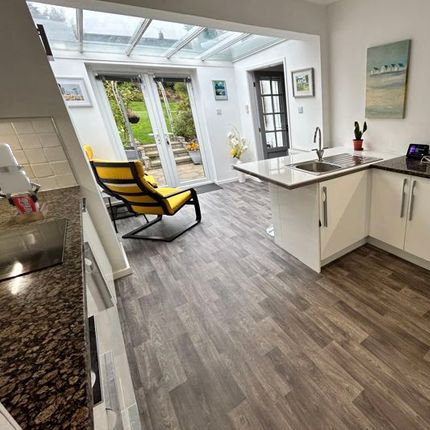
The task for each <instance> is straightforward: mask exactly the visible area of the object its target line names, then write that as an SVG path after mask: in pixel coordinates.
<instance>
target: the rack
mask: <svg viewBox="0 0 430 430" xmlns="http://www.w3.org/2000/svg"><path fill="white" fill-rule="evenodd" d="M38 204H39V206H40V207H38V209H39V211H38V212H33V213H27V214H22V215H20V214H19V212H18V210H16V212H15V214H14V215H13V218H14V220H15V221H16V223H17V224H18V225H19V224H24V223H28V222H29V223H30V222H35V221H39V220H44V219H46V217H47V214H48V212H49V211H48V210H49V208H48V206H47V204H46V202H41V203H38Z"/></svg>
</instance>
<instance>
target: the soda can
mask: <svg viewBox="0 0 430 430" xmlns="http://www.w3.org/2000/svg"><path fill="white" fill-rule="evenodd" d="M12 198H13V202H14V204H15V206H14V207H15V208H16V211H18V212H19V214H20V215H22V214H27V213H33V212H38V211H39V209H38V207H37V204H36V203H35V202H34V200H33V198H32V194H31V193H29V192H22V193H18V194H14V195H12Z"/></svg>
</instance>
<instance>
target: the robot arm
mask: <svg viewBox="0 0 430 430" xmlns="http://www.w3.org/2000/svg"><path fill="white" fill-rule="evenodd" d="M22 169H25V166H24V165H21V164H19V163H18V161H17V159H16V157H15V155H14V153H13V151H12V149H11V147H10V145H9V144H8V143H6V142H0V197H1V198H3V199H6V200H7V202H8V203H9V205H10V206H12V207H16V206H15V204H14V202H13V197H12V194H16V193H18V194H19V193H25V192H27V193H29V194H30V195H31V196H32V198H33V200H34V202H35V203H37V202H38V201H39V198H38V196H37V193H38V192H39V191H40V189H41V187H42V185H40V184H38V183H35V182H33V181H31V180H30V178H29V176H28V174H27V173H26V171H24V170H22ZM34 187H35V189H34ZM33 189H34V190H33Z"/></svg>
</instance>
